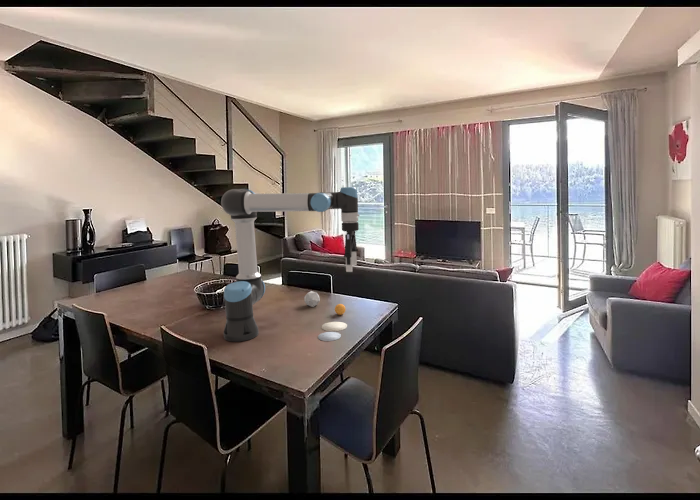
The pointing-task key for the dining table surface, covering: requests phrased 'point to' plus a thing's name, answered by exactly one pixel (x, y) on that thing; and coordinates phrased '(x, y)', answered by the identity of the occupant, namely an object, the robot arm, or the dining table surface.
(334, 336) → the disc
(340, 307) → the ball
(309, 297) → the die
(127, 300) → the dining table surface
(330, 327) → the disc
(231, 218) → the robot arm
